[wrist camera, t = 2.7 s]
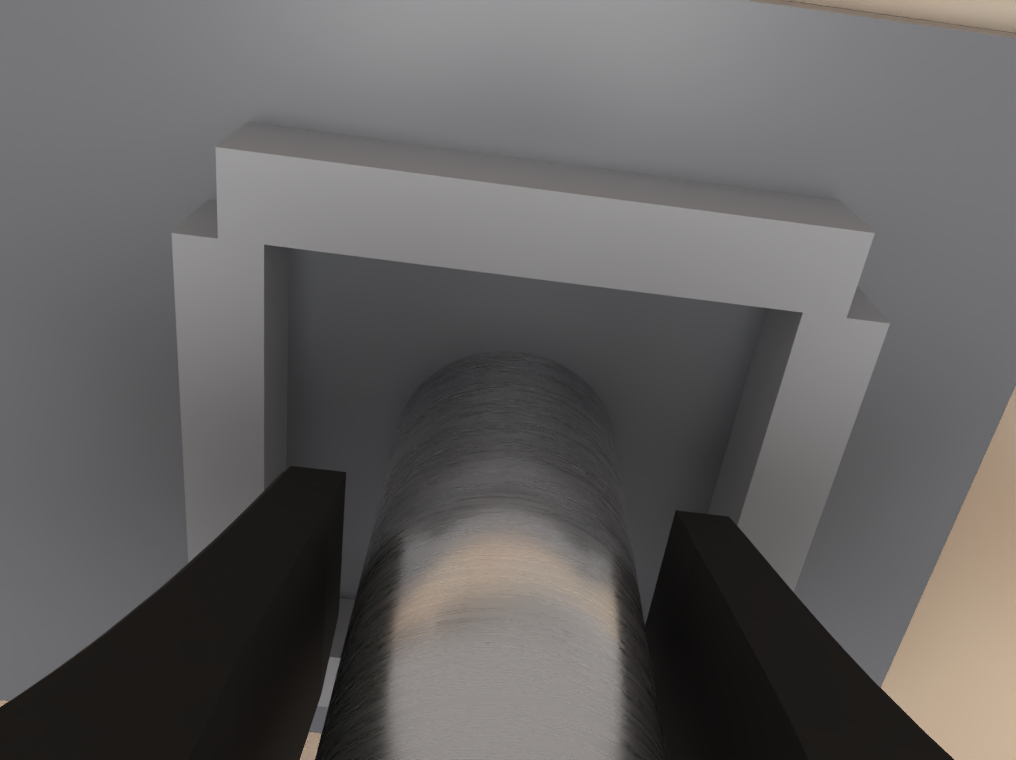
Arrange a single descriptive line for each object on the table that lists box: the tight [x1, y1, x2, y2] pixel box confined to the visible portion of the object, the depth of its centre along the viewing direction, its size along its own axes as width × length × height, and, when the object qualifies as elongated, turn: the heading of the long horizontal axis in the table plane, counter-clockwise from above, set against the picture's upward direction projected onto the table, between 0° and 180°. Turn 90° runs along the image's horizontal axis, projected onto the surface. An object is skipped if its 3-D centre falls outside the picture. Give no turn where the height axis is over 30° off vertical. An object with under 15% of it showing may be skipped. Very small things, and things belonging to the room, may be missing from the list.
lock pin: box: [315, 351, 667, 760], centre depth 9 cm, size 4×4×8 cm
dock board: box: [0, 0, 1016, 733], centre depth 12 cm, size 12×26×2 cm, turn 83°
